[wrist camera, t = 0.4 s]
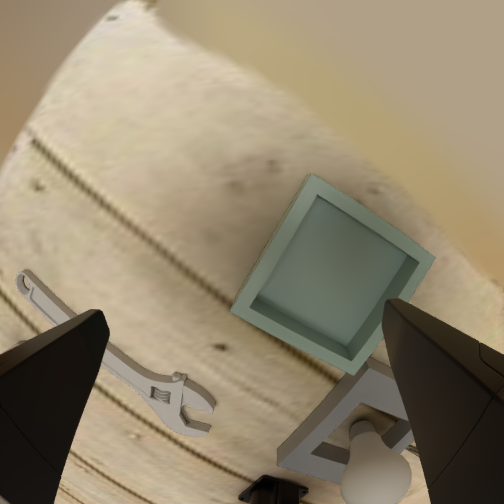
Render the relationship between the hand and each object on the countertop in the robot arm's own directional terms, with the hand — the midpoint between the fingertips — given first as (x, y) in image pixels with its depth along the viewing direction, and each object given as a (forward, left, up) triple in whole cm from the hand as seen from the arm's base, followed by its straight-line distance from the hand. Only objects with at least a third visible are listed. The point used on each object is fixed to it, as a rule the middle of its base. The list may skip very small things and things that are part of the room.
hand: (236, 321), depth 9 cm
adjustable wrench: (-16, +7, -16) cm, 24 cm away
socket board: (-11, -18, -15) cm, 26 cm away
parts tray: (0, -6, -15) cm, 16 cm away
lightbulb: (-11, -18, -15) cm, 26 cm away
